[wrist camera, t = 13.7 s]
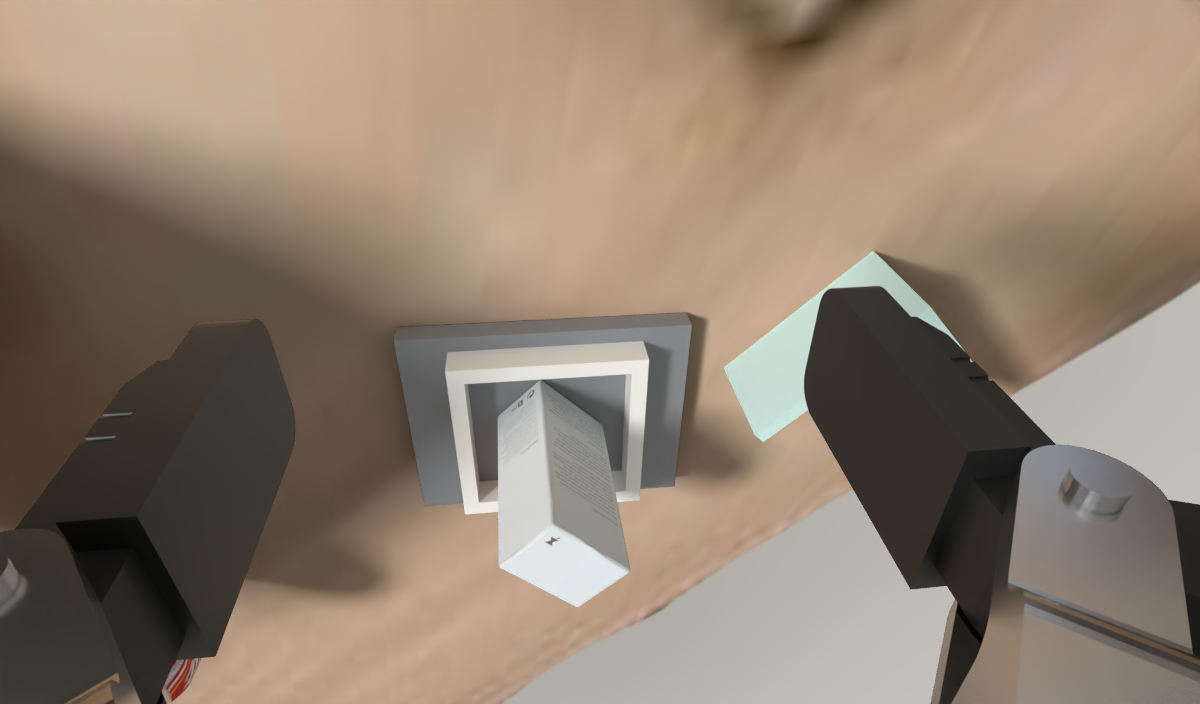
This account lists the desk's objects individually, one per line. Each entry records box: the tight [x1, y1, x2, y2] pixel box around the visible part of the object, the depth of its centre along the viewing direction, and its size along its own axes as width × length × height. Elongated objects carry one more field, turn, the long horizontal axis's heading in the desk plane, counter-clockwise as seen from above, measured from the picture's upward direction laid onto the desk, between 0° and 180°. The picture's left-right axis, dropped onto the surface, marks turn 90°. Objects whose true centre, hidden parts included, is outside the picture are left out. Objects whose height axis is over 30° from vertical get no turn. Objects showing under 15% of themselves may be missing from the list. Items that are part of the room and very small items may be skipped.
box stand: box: [394, 313, 692, 514], centre depth 45 cm, size 18×14×4 cm
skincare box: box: [498, 380, 630, 607], centre depth 40 cm, size 6×4×12 cm
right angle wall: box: [724, 251, 973, 442], centre depth 45 cm, size 12×12×8 cm
